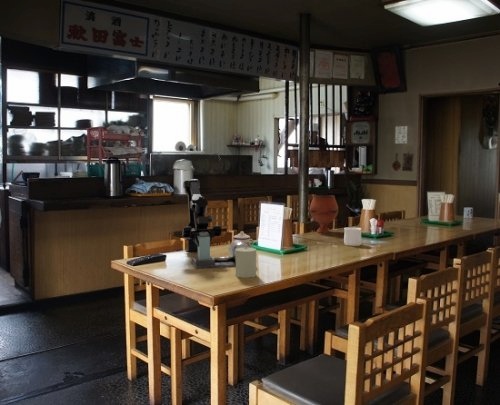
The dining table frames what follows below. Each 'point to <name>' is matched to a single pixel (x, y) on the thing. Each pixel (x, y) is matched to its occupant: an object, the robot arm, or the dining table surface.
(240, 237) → the teacup with lid
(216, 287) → the dining table surface
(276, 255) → the dining table surface
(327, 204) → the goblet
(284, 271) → the dining table surface
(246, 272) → the can
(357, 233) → the cup
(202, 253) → the pale teal bottle
